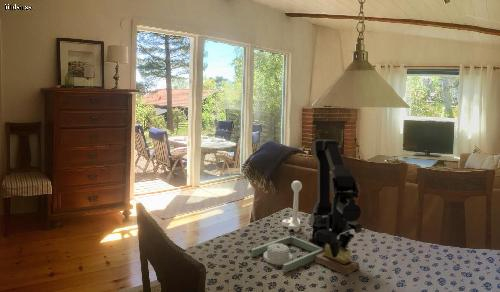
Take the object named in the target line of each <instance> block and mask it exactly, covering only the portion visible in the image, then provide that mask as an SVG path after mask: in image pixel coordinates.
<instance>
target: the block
mask: <svg viewBox="0 0 500 292" xmlns="http://www.w3.org/2000/svg"><path fill="white" fill-rule="evenodd" d="M324 246H325V248H324V249H325V256H326V257H329V258H331V259H330V260H332V259H334V260H336V261H338V262H337V263H339V262H341V263H343V264H342V265H344V264H346V263H348V262H350V259H351V253H352V251H351V249H349V248H347V247H346V248H344V247H341V246H340V248H339V251H338V253H337V256H336V257H333V256H332V253H331V249H330V246H329V244H325V245H324ZM329 258H328V259H329ZM334 260H333V261H334ZM336 261H335V262H336ZM341 263H340V264H341Z"/></svg>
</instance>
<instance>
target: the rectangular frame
mask: <svg viewBox="0 0 500 292" xmlns="http://www.w3.org/2000/svg"><path fill="white" fill-rule="evenodd" d="M314 262H316V263H319V264H320V265H323V266H325V267H328V268H329V269H332V270H334V271H335V272H338V273H341V274H342V275H346V276H347V275H349V274H351V273H353V272H355V271H356V270H358V269H359V268H360V262H358V261H356V260H353V259H351V258H350V262H348V263H346V264H343V263H341V262H338V261H336V260H334V259H331V258H329V257H326V256H325V252H323V253H321V254H319V255H316V256H315V260H314Z"/></svg>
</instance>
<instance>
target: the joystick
mask: <svg viewBox="0 0 500 292" xmlns="http://www.w3.org/2000/svg"><path fill="white" fill-rule="evenodd" d="M290 186H291V187H290V188H291V189H292V191H293V206H292V216H290V217H289V219H288V218H286V219H282V220H281V225H282V227H284V228H288V231H291V230H293V232H296V233H297V232H298V231H299V230H300V227H301V220H300V218H299V215H298V214H299V194H300V193H299V192H300V191H301V190H302V188H303V184H302V182H301V181H300V180H293V181H292V183H291V185H290Z"/></svg>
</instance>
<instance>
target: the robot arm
mask: <svg viewBox="0 0 500 292" xmlns="http://www.w3.org/2000/svg"><path fill="white" fill-rule="evenodd" d="M311 150H312V156H313V157H314V159H315V161H316V162H317V163H316V164H317V201H316V202H315V204H314V205H313V209H312V213H311V214H310V217H309V221H308V222H309V225H310V227H311V228H312V232H311V233H312V234H311V235H312V236H311V237H312V238H309V239H308V242H311V243H315V244H317V245H320V246H326V244H329V246H330V249H331V253H332V256H333V257H336V256H337V253H338V251H339V248H340V246H341V247H344V248H346V249H347V246H348V245H349V244H350V242H351V241H352V239H353V238H354V237H355V234H359V233H361V232H362V229H363V227H362V224H361V223H360V222H357V220H358V219H359V218H360V217H361V213H362V210H361V208H360V206H359V205H358V204H357V203H356V199H357V198H359V187H358V184H357V183H358V182H357V181H356V177H354V175H353V173H352V171H351V170H350V169H349V168H347V167H346V165H345V163H344V160H343V156H342V155H341V151H340V149H339V141H338V140H335V139H315V140H314V141H313V142H312V143H311ZM330 173H331V175H330ZM330 193H332V194H330ZM331 195H332V200H331V199H330V198H331ZM354 198H355V199H354ZM331 201H332V202H331ZM351 230H354V233H355V234H353V233H352V231H351Z"/></svg>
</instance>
